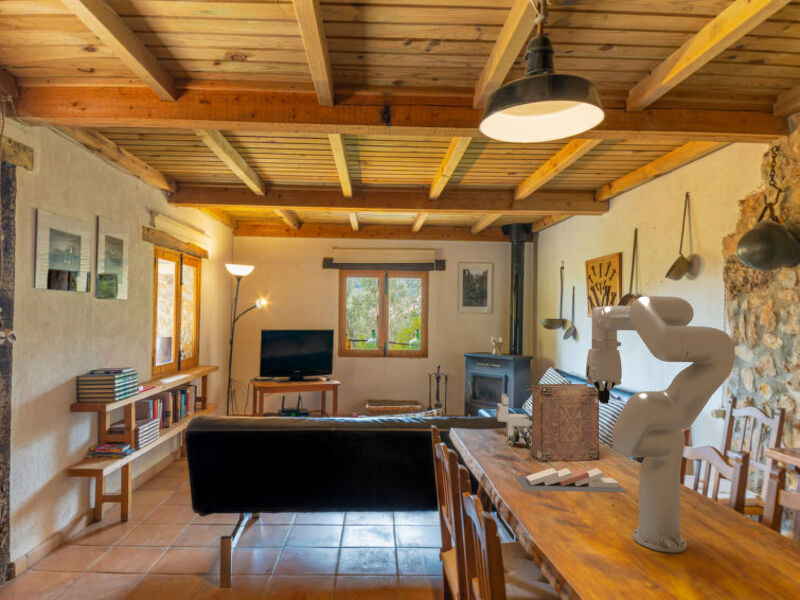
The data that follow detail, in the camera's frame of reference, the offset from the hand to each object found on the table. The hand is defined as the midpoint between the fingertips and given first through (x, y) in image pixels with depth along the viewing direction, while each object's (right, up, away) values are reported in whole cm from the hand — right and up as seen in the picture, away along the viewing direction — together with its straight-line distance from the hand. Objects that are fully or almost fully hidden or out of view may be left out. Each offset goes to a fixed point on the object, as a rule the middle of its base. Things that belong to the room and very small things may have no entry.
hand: (603, 402), depth 158 cm
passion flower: (-12, -33, +63) cm, 72 cm away
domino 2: (-16, -30, +13) cm, 36 cm away
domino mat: (-7, -31, +13) cm, 35 cm away
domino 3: (-10, -30, +13) cm, 34 cm away
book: (+3, -33, +47) cm, 57 cm away
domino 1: (-21, -30, +13) cm, 38 cm away
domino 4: (-5, -30, +13) cm, 33 cm away
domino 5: (-1, -30, +13) cm, 33 cm away
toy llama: (-9, -34, +84) cm, 91 cm away
